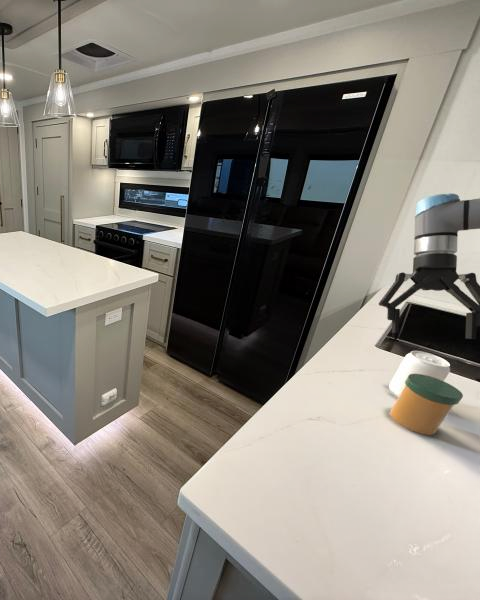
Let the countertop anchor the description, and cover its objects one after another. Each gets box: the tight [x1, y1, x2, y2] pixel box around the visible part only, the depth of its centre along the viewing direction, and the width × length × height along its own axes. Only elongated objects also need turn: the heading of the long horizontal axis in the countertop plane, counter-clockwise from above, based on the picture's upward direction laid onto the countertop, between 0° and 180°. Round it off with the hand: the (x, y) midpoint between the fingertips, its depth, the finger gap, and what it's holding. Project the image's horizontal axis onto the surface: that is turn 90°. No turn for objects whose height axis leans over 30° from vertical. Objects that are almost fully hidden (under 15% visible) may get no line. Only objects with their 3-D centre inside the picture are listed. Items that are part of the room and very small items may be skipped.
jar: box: [389, 385, 455, 436], centre depth 73 cm, size 8×8×10 cm
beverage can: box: [388, 350, 451, 397], centre depth 82 cm, size 8×8×12 cm
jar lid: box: [405, 374, 464, 406], centre depth 71 cm, size 9×9×2 cm
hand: (431, 335), depth 80 cm, fingers open, 13 cm apart
